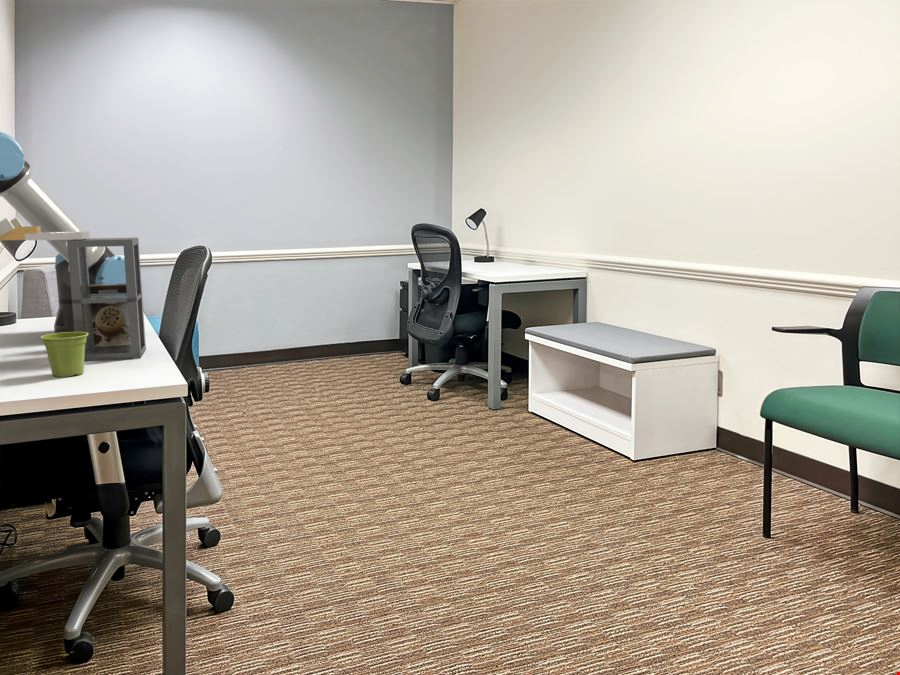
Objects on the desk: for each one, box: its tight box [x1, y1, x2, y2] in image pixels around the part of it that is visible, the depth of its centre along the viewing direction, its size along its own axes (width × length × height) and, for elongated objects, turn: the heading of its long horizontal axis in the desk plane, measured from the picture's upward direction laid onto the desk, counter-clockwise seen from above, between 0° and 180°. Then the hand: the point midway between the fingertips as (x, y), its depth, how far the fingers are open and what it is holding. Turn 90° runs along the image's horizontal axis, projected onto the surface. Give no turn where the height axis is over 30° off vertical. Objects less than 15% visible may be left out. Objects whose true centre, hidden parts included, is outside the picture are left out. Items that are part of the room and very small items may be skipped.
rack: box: [66, 237, 147, 362], centre depth 199 cm, size 12×14×28 cm
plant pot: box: [39, 332, 88, 378], centre depth 179 cm, size 9×9×9 cm
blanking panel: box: [0, 225, 91, 241], centre depth 193 cm, size 10×24×3 cm, turn 104°
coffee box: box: [90, 284, 131, 346], centre depth 213 cm, size 9×6×16 cm
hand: (15, 222), depth 192 cm, fingers open, 8 cm apart
